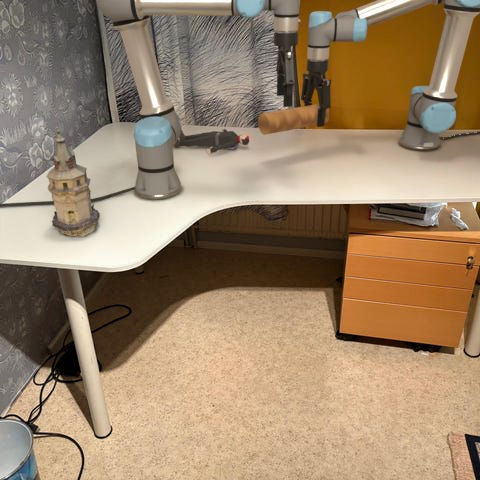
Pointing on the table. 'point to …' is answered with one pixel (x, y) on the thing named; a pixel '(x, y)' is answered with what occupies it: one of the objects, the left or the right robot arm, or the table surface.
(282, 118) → the rod
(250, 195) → the table surface
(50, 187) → the miniature building
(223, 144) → the toy
